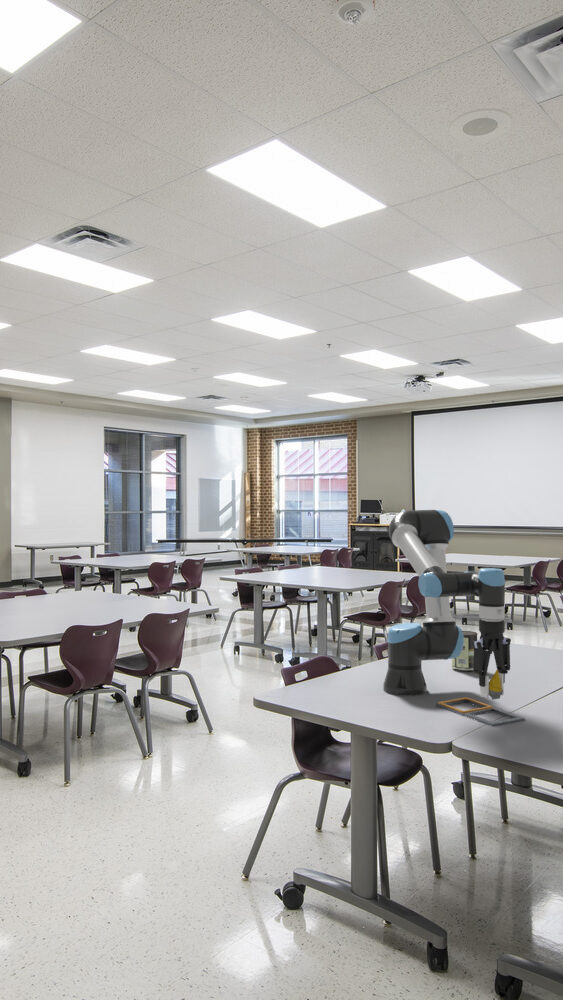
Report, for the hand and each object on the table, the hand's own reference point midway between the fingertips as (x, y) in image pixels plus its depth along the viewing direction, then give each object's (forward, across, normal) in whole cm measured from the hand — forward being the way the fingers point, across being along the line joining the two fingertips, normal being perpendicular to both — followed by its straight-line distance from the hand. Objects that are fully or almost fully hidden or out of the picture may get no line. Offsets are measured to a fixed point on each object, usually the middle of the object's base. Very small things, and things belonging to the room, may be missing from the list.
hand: (492, 695), depth 206 cm
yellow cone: (+2, 0, 0) cm, 2 cm away
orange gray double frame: (+7, 0, +6) cm, 9 cm away
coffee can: (+8, +39, +55) cm, 68 cm away
